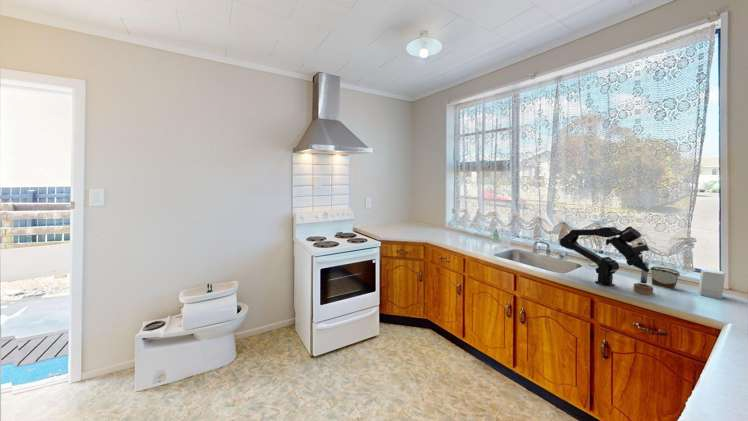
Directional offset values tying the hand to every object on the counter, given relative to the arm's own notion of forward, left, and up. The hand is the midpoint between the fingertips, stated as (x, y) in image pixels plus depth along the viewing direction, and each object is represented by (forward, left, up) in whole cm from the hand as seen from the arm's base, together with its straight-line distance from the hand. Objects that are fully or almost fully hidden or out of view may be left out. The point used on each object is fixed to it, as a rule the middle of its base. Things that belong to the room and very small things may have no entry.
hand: (648, 271), depth 150 cm
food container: (+21, +6, -12) cm, 25 cm away
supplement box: (+29, -8, -12) cm, 32 cm away
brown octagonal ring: (-1, +1, -12) cm, 12 cm away
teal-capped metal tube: (-1, +1, -7) cm, 7 cm away
